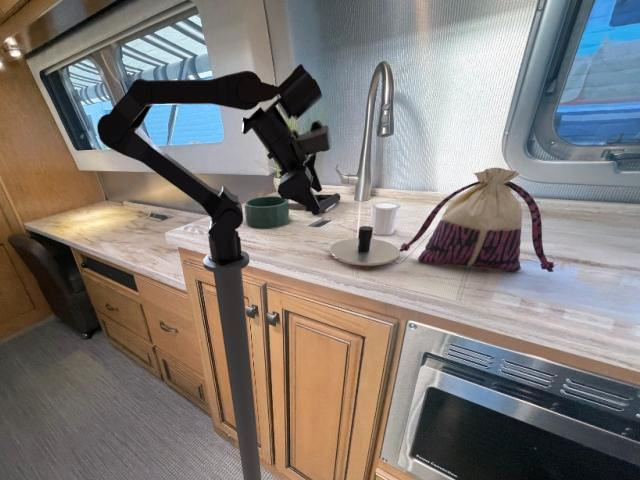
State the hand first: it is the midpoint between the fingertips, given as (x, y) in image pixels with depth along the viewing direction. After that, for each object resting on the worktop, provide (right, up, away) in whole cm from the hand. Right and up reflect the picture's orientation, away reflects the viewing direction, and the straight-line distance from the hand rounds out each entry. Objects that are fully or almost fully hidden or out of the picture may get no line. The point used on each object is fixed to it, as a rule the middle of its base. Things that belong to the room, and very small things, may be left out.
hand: (319, 200), depth 67 cm
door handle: (+8, +11, +42) cm, 45 cm away
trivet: (+11, -12, +4) cm, 16 cm away
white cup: (+21, -3, +16) cm, 27 cm away
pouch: (+29, -15, -4) cm, 33 cm away
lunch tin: (-8, +4, +33) cm, 34 cm away
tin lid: (+11, -11, +3) cm, 15 cm away
